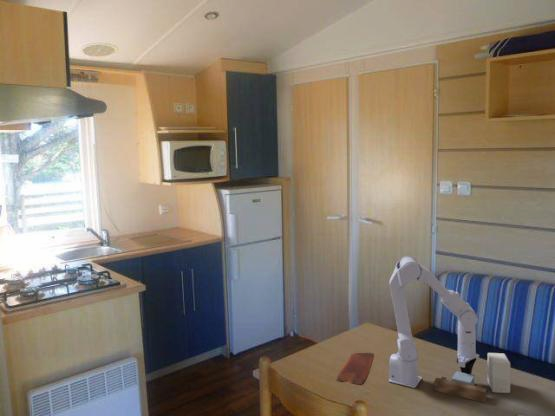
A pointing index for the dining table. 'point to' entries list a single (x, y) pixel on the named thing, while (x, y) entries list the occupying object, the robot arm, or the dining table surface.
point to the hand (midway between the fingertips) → (466, 378)
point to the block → (464, 378)
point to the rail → (460, 389)
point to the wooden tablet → (356, 368)
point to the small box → (498, 372)
